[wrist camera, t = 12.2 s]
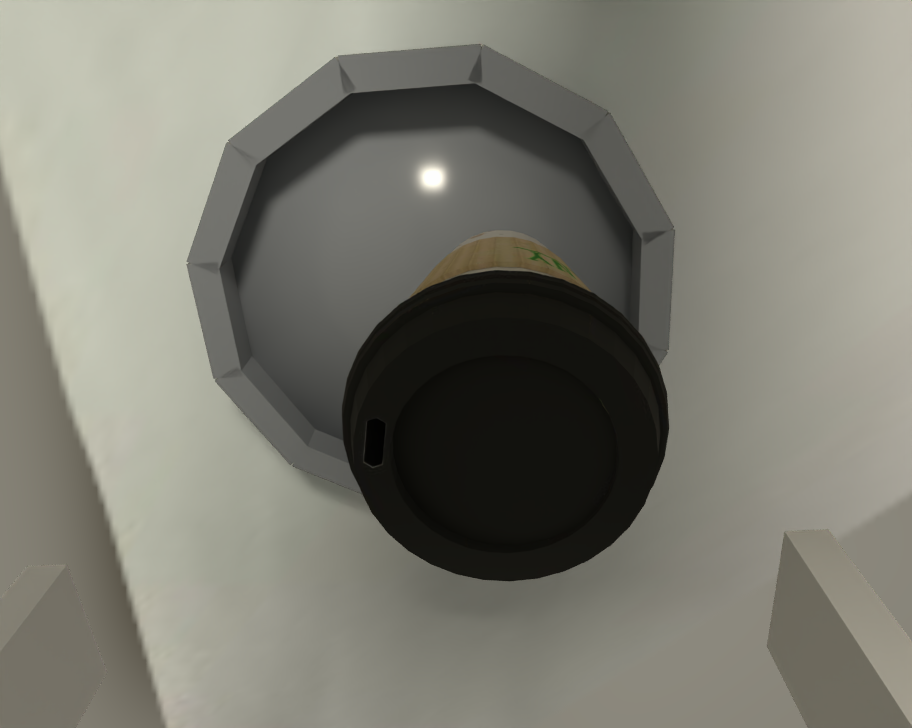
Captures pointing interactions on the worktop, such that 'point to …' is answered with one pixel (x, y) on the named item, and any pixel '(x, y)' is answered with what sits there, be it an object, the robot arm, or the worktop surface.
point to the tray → (403, 221)
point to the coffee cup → (505, 415)
